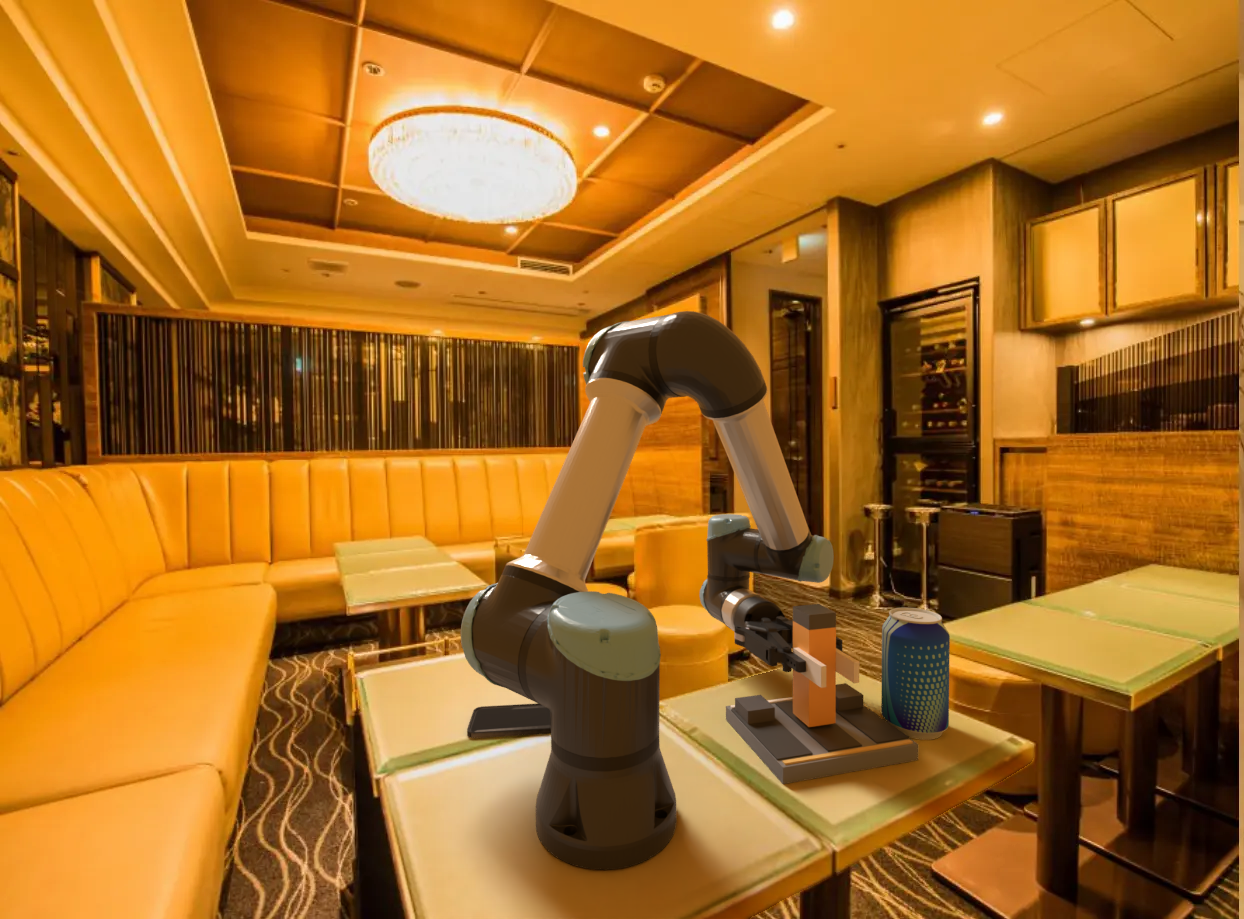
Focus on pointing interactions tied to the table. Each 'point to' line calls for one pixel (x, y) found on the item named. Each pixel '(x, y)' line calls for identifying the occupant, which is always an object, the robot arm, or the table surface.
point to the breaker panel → (819, 737)
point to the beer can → (915, 672)
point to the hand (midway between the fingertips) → (840, 674)
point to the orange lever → (819, 641)
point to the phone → (509, 721)
